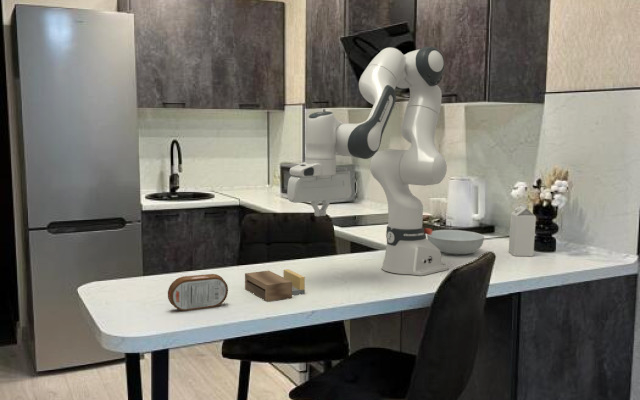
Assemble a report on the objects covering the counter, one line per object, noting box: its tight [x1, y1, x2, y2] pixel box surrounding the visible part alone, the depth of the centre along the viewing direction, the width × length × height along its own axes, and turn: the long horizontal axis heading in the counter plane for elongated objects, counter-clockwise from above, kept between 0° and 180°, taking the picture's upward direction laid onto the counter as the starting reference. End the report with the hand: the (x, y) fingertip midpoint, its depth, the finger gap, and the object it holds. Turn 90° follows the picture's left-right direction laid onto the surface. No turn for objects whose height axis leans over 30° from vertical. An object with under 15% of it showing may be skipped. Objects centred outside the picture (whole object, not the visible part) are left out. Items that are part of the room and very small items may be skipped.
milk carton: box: [508, 202, 537, 257], centre depth 223 cm, size 7×7×19 cm
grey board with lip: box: [282, 268, 306, 296], centre depth 167 cm, size 11×10×5 cm
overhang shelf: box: [244, 270, 293, 302], centre depth 165 cm, size 8×14×4 cm, turn 31°
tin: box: [167, 273, 229, 312], centre depth 151 cm, size 15×3×8 cm, turn 118°
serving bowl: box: [426, 229, 485, 256], centre depth 225 cm, size 21×21×7 cm
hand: (320, 215), depth 175 cm, fingers closed
